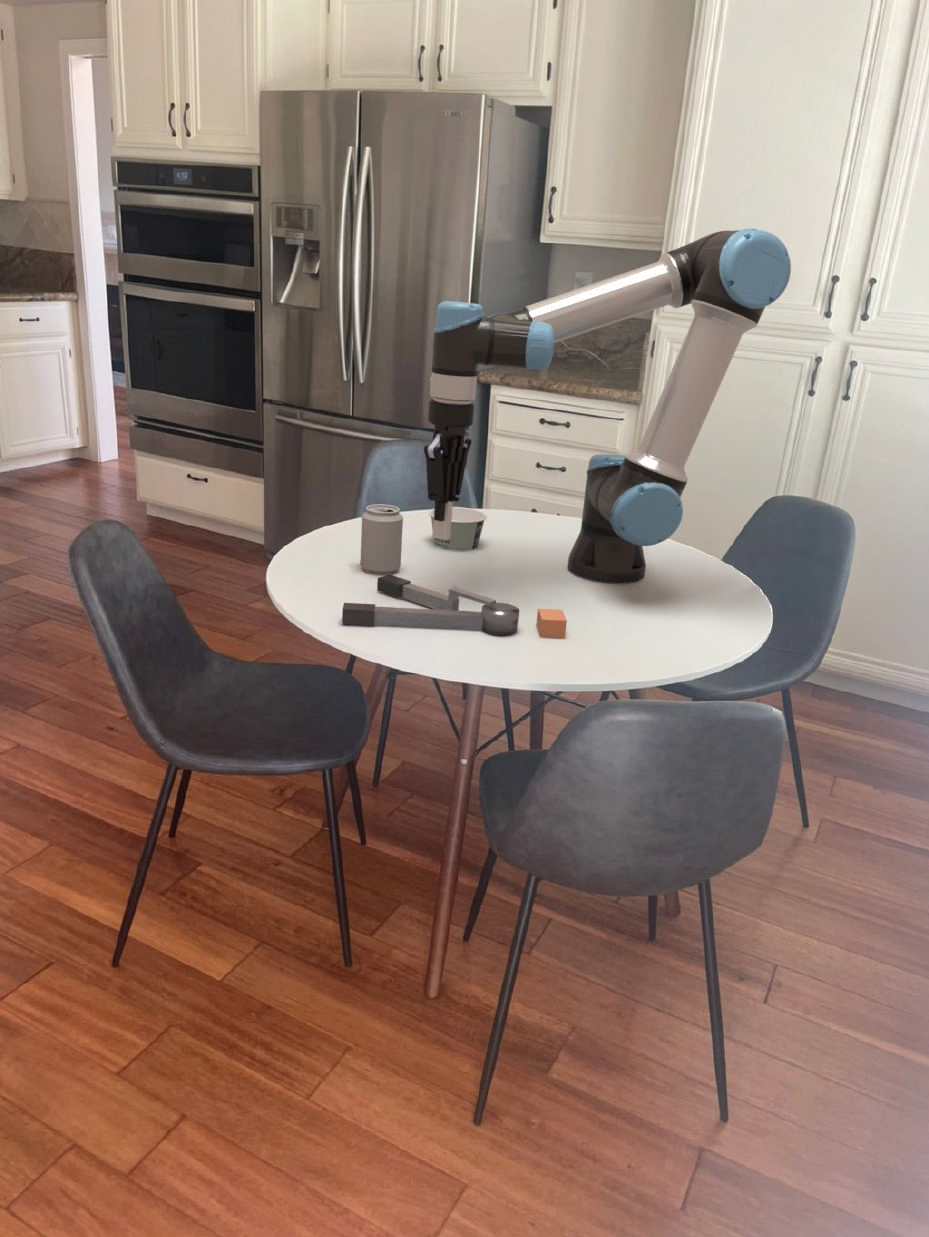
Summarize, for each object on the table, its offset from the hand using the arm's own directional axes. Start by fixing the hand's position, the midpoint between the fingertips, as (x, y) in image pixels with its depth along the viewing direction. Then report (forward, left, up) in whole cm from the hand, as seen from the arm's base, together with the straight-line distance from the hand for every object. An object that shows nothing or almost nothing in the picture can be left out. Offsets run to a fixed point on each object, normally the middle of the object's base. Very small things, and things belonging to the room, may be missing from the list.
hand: (441, 537), depth 164 cm
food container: (-4, -31, -10) cm, 33 cm away
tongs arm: (+1, +9, -10) cm, 13 cm away
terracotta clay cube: (-18, +17, -10) cm, 27 cm away
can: (+11, -11, -10) cm, 18 cm away
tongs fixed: (+2, +17, -10) cm, 20 cm away
